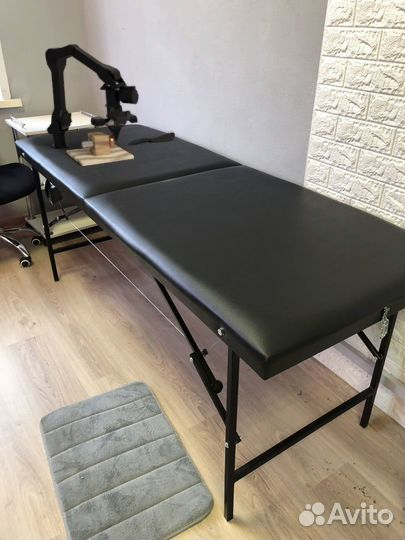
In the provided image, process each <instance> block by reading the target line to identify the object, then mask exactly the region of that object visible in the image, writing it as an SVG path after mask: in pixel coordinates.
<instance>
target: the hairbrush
mask: <svg viewBox="0 0 405 540" xmlns="http://www.w3.org/2000/svg"><path fill="white" fill-rule="evenodd" d="M175 136H176V133H175V132H174V130H172V131H169V130H168V131H167V132H164V133H163V134H160V133H159V134H157V136H155V137H153V136H149V137H141V138H136V139H133V140H131V141H129V142H128V143H127V145H128V146H134V145H137V144H139V143H141V142H146V141H150V142H152V143H155V144H156V143H157V144H158V143H168V142H171V141H173V139H175Z"/></svg>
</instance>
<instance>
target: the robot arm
mask: <svg viewBox="0 0 405 540" xmlns="http://www.w3.org/2000/svg"><path fill="white" fill-rule="evenodd" d="M44 56H45V58H44V59H45V62H46V65H47V67H48V70H50V75H51V76H50V77H51V85H52V86H51V87H52V101H53V109H52V113H51V115H50V119H51V120H50V123H49V125H48V127H46V131H47V134H49V135H51V136H52V144H50V145H51V147H52V148H54V149H66V148H70V147H71V146H70V145H69V144H68V142H67V135H66V132H69V130H70V127H71V125H72V123H73V119H72V112H69V111H68V109H67V106H66V105H67V104H66V102H67V101H66V89H65V75H64V73H65V69H66V67H67V60H68V59H69V58H73V59H75V60H76V61H78V62H79V63H81V64H82V65H84V66H85V67H86V68H88V69H90V71H92V72H94V73H95V75H97V77H98V79H99V80H100V81H101V82H103V84H102V86H100V88H99V90H101V91H105V92H104V94H105V104H104V107H106V108H105V109H106V114H105V117H106V118H104V117H101V116H100V115H99V116H92V117H91V118H90V125H92V126H93V127H104V126H105V127H107V128H108V130H109V132H110V135H112V136H113V137H114V141H115V142H118V140H119V137H120V133H121V130H122V129H123V128H124V127H125V126H126V124H127V123H128V122H129V123H130V124H135V123H136V124H137V123H138V122H139V121H138V120H139V119H138V116H137V115H136V114H133V113H131V110H123V106H122V105H121V103H122V104H125V105H126V104H128V105H137V104H138V102H139V99H140V97H139V92H138V89H137V87H136V85H127V83H126V82H125V80H124V79H123V77H122V75H121V71H120V70H119V69H118V68H117V67H114V66H112V65H109V64H106V63H103V62H102V61H100V60H98V59H97V58H96V57H94V55H91V53H88V52H87V51H85V50H84V49H82V48H81V47H80V46H79V45H78V44H76V43H72V44H71V43H70V44H67V45H65V46H61V47H51V48H50V47H49V48H48V49H46V51H45V52H44Z"/></svg>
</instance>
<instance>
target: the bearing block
mask: <svg viewBox="0 0 405 540" xmlns="http://www.w3.org/2000/svg"><path fill="white" fill-rule="evenodd" d="M87 141H93V147H86V148H76V149H71V150H70V149H69V150H68V149H67V150H66V155H68V156H69V157H71V158H72V159H73V160H74V161H76V162H77V163H78V164H80V165H81V166H82V167H83V166H91V165H92V166H93V165H99V164H105V163H106V164H107V163H113V162H118V161H127V160H134V158H135V156H134V155H133V154H132V153H130V152H128V151H126V150H124V149H123V148H121V147H120V146H118V145H116V144H115V146H114V147H112V148H110V147H109V136H108V134H106V133H105V132H103V131H94V132H87Z"/></svg>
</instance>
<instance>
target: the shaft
mask: <svg viewBox="0 0 405 540" xmlns="http://www.w3.org/2000/svg"><path fill="white" fill-rule="evenodd" d="M107 135H108V134H107ZM108 136H109V147H110V148H112V147H114V146H115V145H116V143H115V142H116V141H115V140H114V137H113V136H112V134H109V135H108ZM80 145H81V148H82V149H84V148H89V147H93V141H88V140H86V141H81V143H80Z"/></svg>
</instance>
